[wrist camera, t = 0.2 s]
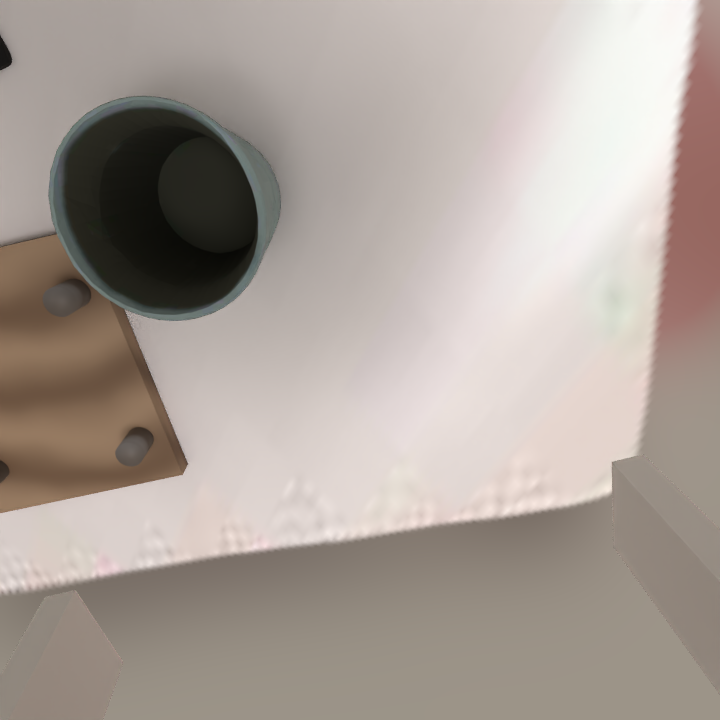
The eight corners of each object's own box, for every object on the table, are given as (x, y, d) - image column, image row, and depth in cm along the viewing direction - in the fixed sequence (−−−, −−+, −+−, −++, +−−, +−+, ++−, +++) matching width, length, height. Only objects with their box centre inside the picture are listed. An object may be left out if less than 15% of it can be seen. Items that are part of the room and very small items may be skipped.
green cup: (256, 292, 38) (222, 351, 26) (120, 231, 35) (21, 268, 24) (312, 160, 34) (301, 164, 23) (166, 84, 32) (77, 49, 21)
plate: (-128, 276, 36) (-180, 290, 32) (89, 226, 35) (61, 234, 32) (7, 502, 43) (-23, 534, 40) (187, 464, 43) (173, 492, 39)
